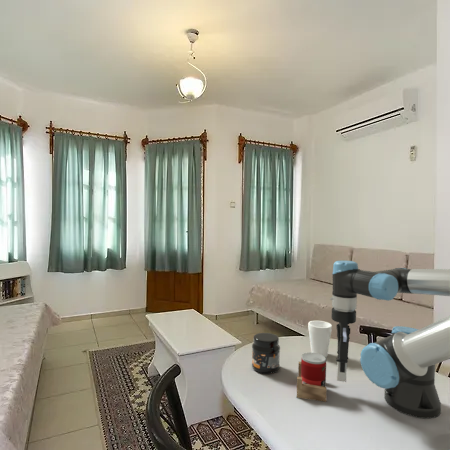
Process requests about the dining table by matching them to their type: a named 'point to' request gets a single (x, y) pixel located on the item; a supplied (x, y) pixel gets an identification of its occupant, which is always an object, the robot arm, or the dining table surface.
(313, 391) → the chute
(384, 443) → the dining table surface
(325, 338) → the foam cup
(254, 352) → the supplement container
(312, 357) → the canned food
